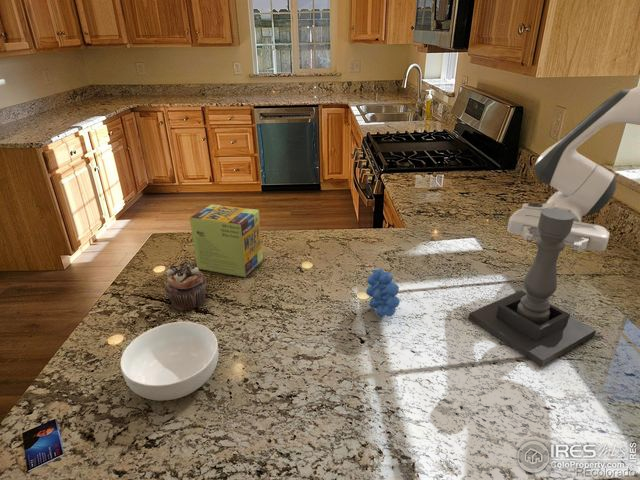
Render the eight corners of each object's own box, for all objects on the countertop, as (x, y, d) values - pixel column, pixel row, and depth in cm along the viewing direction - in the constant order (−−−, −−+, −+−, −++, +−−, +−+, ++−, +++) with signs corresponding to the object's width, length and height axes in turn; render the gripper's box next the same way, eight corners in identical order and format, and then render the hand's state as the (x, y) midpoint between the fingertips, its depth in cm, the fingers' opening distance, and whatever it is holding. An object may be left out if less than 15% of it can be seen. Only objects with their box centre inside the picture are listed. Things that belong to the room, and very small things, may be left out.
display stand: (594, 335, 89) (600, 318, 87) (541, 366, 81) (546, 348, 79) (520, 295, 103) (523, 279, 101) (468, 318, 95) (471, 301, 93)
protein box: (246, 278, 112) (241, 224, 105) (196, 269, 117) (188, 217, 110) (263, 259, 121) (259, 209, 114) (216, 252, 126) (210, 203, 119)
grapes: (411, 324, 93) (416, 277, 88) (385, 332, 91) (388, 285, 86) (383, 297, 103) (386, 254, 98) (359, 304, 101) (361, 260, 95)
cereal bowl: (113, 379, 80) (104, 349, 76) (193, 338, 90) (188, 310, 87) (153, 433, 69) (145, 401, 65) (239, 379, 79) (235, 349, 76)
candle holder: (517, 309, 95) (541, 206, 85) (547, 318, 93) (577, 211, 82) (512, 324, 91) (537, 216, 80) (544, 333, 88) (575, 222, 77)
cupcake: (217, 297, 104) (212, 261, 100) (185, 317, 97) (179, 279, 92) (191, 286, 109) (185, 251, 104) (159, 304, 102) (151, 267, 97)
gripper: (606, 243, 99) (603, 268, 88) (512, 225, 109) (500, 245, 98) (613, 218, 96) (612, 241, 85) (517, 201, 106) (505, 220, 95)
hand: (551, 243), depth 92 cm, fingers open, 8 cm apart
